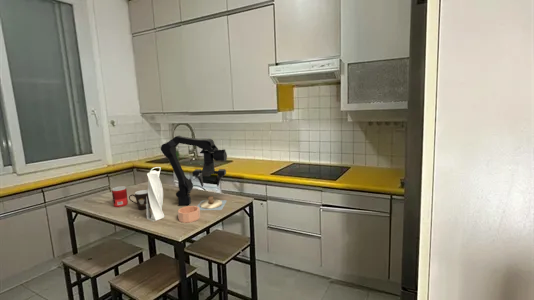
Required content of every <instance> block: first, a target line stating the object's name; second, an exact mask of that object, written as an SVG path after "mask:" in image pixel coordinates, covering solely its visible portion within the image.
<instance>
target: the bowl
mask: <svg viewBox="0 0 534 300" xmlns="http://www.w3.org/2000/svg"><path fill="white" fill-rule="evenodd" d="M197 206H198V205H197ZM197 206H196V205H188V206H182V207H180V208H179V209H178V210H177V218H178V222H180V223H185V224H187V223H189V224H190V223H193V222H196V221H198V220H199V219H200V218H201V210H200V208H199V207H197Z"/></svg>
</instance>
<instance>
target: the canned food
mask: <svg viewBox="0 0 534 300" xmlns="http://www.w3.org/2000/svg"><path fill="white" fill-rule="evenodd" d="M127 190H128V189H127V186H123V185H122V186H115V187H113V188H111V194H112V202H113V206H114V208H121V207H125V206H127V205H128V204H129V201H128V200H129V198H128V192H127Z"/></svg>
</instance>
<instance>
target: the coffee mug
mask: <svg viewBox="0 0 534 300" xmlns="http://www.w3.org/2000/svg"><path fill="white" fill-rule="evenodd" d="M131 197H134V199H135V201H134V200H132V199H131ZM146 197H147V199H146ZM128 200H129V201H130V202H131V203H132V204H133V203H134V204H135V205H137V209H138V210H139V211H147V210H146V204H147V203H146V200H148V204H149V209H151V206H150V202H149V197H148V189H141V190H137V191H135V192H134V194H130V195H129V196H128Z"/></svg>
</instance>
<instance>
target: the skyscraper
mask: <svg viewBox="0 0 534 300" xmlns="http://www.w3.org/2000/svg"><path fill="white" fill-rule="evenodd" d="M161 168H162V167H160V166H155V167H153V168H151V169H150V171H149V172H147V173H146V175H147V178H148V179H147V180H148V181H147V190H148V197H149V202H150V208H149V204H148V200H146V203H147V204H146V210H145V211H146V218H145V219H146V220H148V221H150V222H152V223H153V222H156V221H159V220H162V219H163V218H165V214H164V212H163V202H164V201H163V200H164V189H163V185H162V181H161V179H160V178H161V177H160V173H161V170H162V169H161ZM154 169H159V170H158V171H157V170H154ZM146 199H147V197H146ZM150 209H151V212H150Z"/></svg>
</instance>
